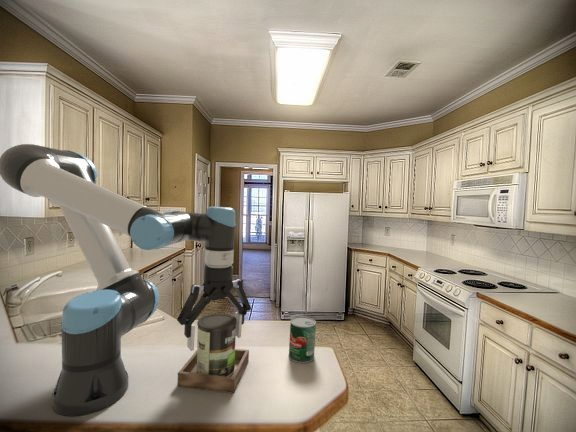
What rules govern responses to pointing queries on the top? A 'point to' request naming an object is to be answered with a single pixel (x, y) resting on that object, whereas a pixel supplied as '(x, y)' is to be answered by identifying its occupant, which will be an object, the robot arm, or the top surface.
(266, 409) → the top surface
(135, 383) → the top surface
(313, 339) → the canned tomato
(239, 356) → the tray
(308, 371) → the top surface
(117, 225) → the robot arm
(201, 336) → the coffee can
